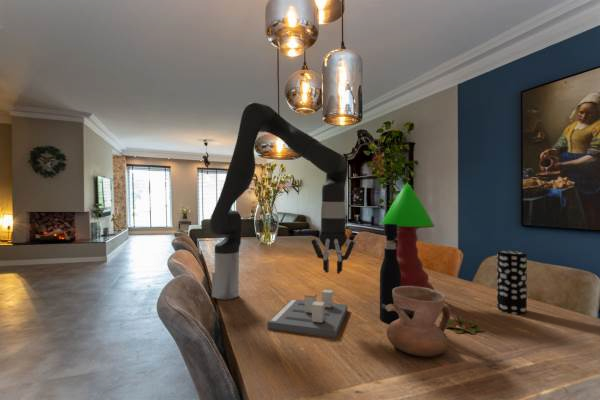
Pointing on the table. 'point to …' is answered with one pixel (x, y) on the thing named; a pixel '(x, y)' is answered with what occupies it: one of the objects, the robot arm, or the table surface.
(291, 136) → the robot arm
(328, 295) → the breaker
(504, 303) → the white-spotted black cylinder
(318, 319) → the block
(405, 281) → the table lamp
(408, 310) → the ceramic jug
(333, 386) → the table surface
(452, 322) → the green leafy sprig
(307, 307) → the block
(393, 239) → the wine bottle
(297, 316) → the breaker panel
